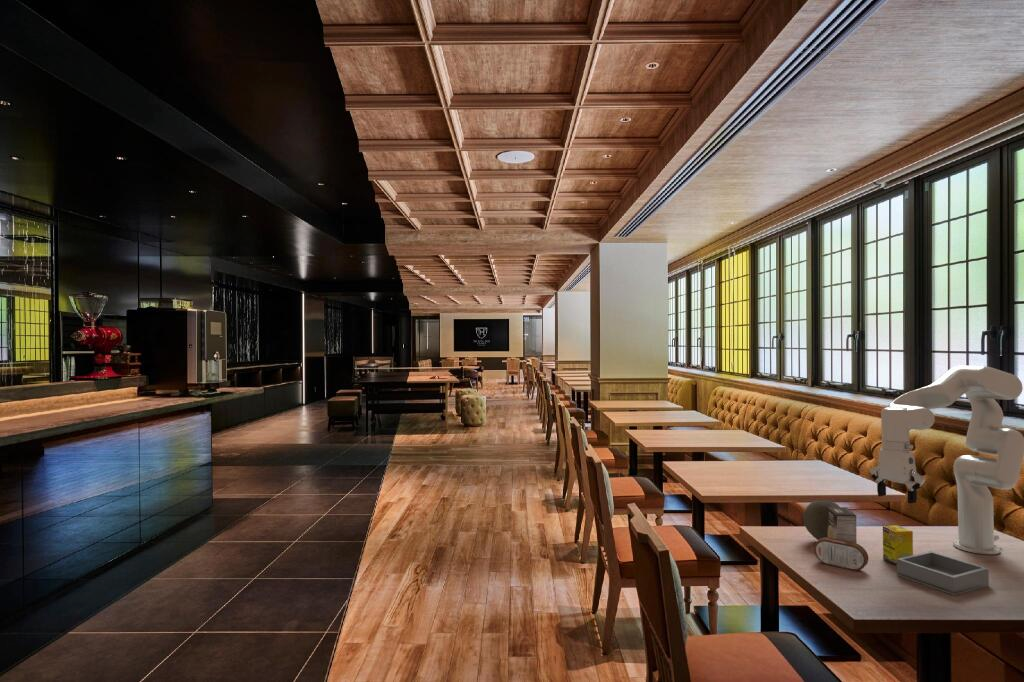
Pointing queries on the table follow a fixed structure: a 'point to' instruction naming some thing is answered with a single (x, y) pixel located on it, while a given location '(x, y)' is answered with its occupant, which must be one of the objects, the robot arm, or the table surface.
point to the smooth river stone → (817, 518)
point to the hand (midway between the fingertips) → (896, 499)
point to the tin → (841, 553)
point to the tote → (943, 572)
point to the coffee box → (841, 524)
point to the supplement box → (897, 543)
